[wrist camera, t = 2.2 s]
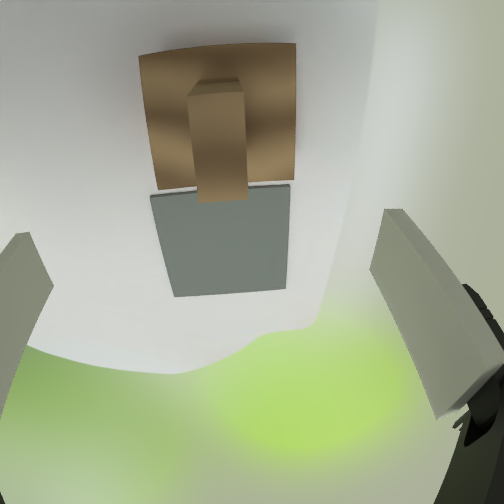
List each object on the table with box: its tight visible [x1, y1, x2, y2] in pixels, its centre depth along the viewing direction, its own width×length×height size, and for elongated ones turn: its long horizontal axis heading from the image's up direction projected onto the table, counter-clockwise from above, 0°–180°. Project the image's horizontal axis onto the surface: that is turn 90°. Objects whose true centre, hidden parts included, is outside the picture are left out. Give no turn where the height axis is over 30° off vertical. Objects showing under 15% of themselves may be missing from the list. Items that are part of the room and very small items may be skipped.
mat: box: [150, 185, 290, 297], centre depth 42 cm, size 17×17×1 cm
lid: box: [139, 43, 296, 203], centre depth 22 cm, size 13×13×10 cm
